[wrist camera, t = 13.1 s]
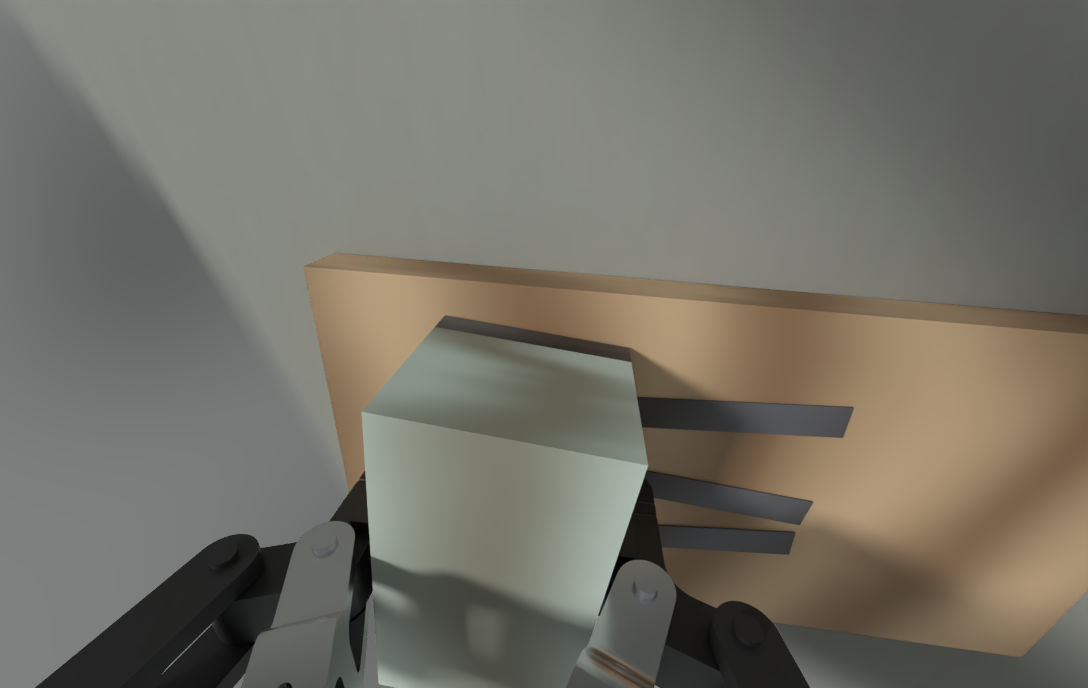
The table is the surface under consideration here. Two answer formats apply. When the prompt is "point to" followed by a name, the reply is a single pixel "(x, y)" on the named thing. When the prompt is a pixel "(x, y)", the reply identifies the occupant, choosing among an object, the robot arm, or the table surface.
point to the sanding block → (497, 503)
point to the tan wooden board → (797, 436)
